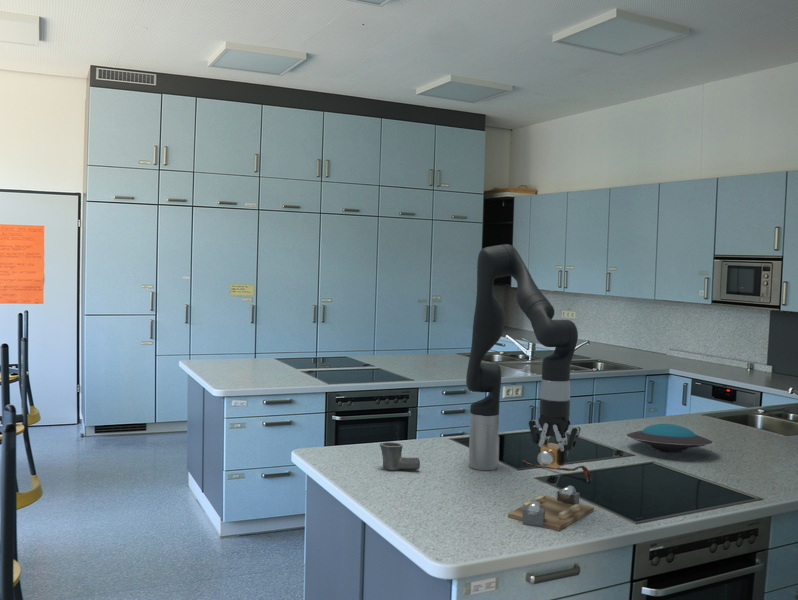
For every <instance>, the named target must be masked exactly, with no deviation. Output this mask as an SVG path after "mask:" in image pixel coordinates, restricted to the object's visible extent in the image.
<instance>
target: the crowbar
mask: <svg viewBox="0 0 798 600" xmlns="http://www.w3.org/2000/svg"><path fill="white" fill-rule="evenodd" d="M522 462H523V463H524V464H526V465H528V464H531V465H532V463H530V462H528V461H527V460H526V459H523V460H522ZM531 465H530V466H531ZM534 465H535V466H538V467H537V468H539V467H541V468H540V469H548V470H549V469H550V470H559V471H565V472H567V471H569V472H570V471H571V472H572V471H573V472H574V471H576V470H579V469H582V471H583V473H584V476H585V479H586V480H585V481H586V483H587V482H589V481H592V477H591V473H590V470H589V469H588V468H587V466H585V465H579V466H576V467H574V468H568V467H559V468H557V469H555V468H550V467H546V466H541V465H540V464H534ZM535 466H534V467H535ZM589 483H590V482H589Z"/></svg>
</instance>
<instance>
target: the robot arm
mask: <svg viewBox="0 0 798 600" xmlns="http://www.w3.org/2000/svg"><path fill="white" fill-rule="evenodd" d="M477 255H478V257H477V266H476V298H475V307H474V308H475V309H474V314H473V324H472V332H471V333H472V335H471V337H472V338H471V347H470V353H469V359H468V363H467V364H468V365H467V370H466V380H465V381H466V383H465V384H466V387H467V390H468V391H470V392H472V393H488V395H486V396H485V397H484V398H482V399H481V400H476V401H475V402H472V403H471V404H470V407H469V408H470V409H469V412H470V413H469V441H468V442H469V443H468V467H469V468H471V469H474V470H480V471H491V470H493V471H494V470H496V469H497V468H498V466H499V462H500V461H499V460H500V436H499V435H500V434H499V430H500V429H499V427H500V426H499V425H500V400H501V399H500V397H501V388H502V387H501V385H502V369H501V366H500V365H499V364H498V363H494V362H493V363H489V362H488V363H486V362H485V363H483V362H482V361H483V359H484V357H486V354H487V353H488V352H489V351H490V350H491V349H493V348H494V346H495V345H496V344H497V343H498V342H499V341H500V339H501V337H502V336H503V332H504V326H505V320H506V319H505V318H506V316H505V310H504V308H503V307H502V304H501V303H500V301H499V299H497V296H496V295H495V293H494V282H495V279H498V278H504V277H509V276H510V277H512V278H513V279H514V280H515V281H516V285H517V286H516V287H517V288H516V300H517V301H516V302H517V303H518V306H519V308H520V309H521V311H522V312H523V313H524V315H525V316H526V317H527V318H528V320H529V321H530V324H531V328H532V329H533V330H532V331H533V333H534V336H535V338H536V340H537V342H538V343H540V344H541V345H542V346H544V347H547V348H554V352H553V353H552V354H550V355H549V356H545V357H544V358H543V360H542V364H541V366H542V367H541V383H540V391H539V418H538V419H531V420H530V421H528V427H529V430H530V436H531V441H532V444H535V445H537V446H539V451H538V454H539V453H540V452H541V446H542V445H545V444H548V443H549V441H550V440H549V439H550V438H551V437H553V438H555V439H556V442H557V444H559V447H560V450H561V451H559V465H561V466H562V467H563V465H564V466H566V464H567V462H568V456H567V452H568V453H569V451H571V450H574V449H575V448H576V446H577V442H578V439H579V436H580V433H581V427H580V426H574V425H572V424H571V422H570V413H571V412H570V411H571V384H570V382H571V380H570V379H571V364H572V361H573V357H574V353H575V350H576V347H577V344H578V341H579V332H578V328H577V326H576V324H575V322H573V321H572V320H571V319H553V318H554V316H555V308H554V306H553V305H552V303H551V302H550V301H549V300H548V298H547V297H546V296H545V295H544V294H543V292H542V291H541V289H539V287H538V286H537V284H536V282H535V281H534V278H533V277H532V275H531V273H530V271H529V269H528V267H527V266H526V264H525V262H524V260H523V258H522V257H521V255H520V253H519V252H518V250H517V249H516V248H515V246H513V245H511V244H508V243H505V244H498V245H491V246H486V247H484V248H482V249H481V250H480V251H479V253H478V254H477ZM539 427H540V428H541V430H542V431H541V433H540V429H539ZM567 431H569V438H568V436H567Z"/></svg>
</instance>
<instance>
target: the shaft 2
mask: <svg viewBox="0 0 798 600" xmlns="http://www.w3.org/2000/svg"><path fill="white" fill-rule="evenodd" d="M576 490H577V489H576V488H575V487H574V486H572V485H568V486H566V487H563V488H562V489H559V490H557V493H556V498H557V501H561V502H565V503H569V504H573V505H575V504H577V503H580V498H581V497H580V492H577V491H576Z"/></svg>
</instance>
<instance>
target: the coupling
mask: <svg viewBox="0 0 798 600" xmlns="http://www.w3.org/2000/svg"><path fill="white" fill-rule="evenodd" d="M559 451H561V450H560V447H559V443H555V442H554V443H553V442H548V443H547V444H545V445H542V446H541V452H540V453H539V452H538V454H537V462H538V465H539V466H546V467H550V468H555V469H554V470H556V469H557V468H563V466H565V465H563V466H561V465H559ZM568 456H569V451H568V452H567V457H568Z"/></svg>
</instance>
